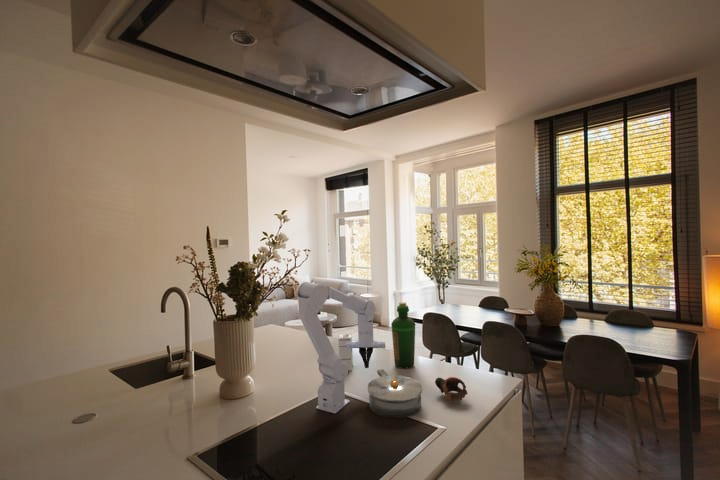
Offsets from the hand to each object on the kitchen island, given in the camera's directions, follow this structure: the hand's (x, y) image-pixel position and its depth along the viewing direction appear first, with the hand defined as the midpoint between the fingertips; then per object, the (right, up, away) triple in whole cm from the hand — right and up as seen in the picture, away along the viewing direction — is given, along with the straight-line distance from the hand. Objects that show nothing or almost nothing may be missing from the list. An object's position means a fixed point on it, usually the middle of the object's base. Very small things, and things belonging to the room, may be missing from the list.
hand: (366, 367), depth 130 cm
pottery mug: (+30, -8, -8) cm, 32 cm away
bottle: (+17, -8, +23) cm, 30 cm away
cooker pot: (+11, -8, -10) cm, 17 cm away
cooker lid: (+8, -3, -10) cm, 13 cm away
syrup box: (-9, -9, +22) cm, 25 cm away
